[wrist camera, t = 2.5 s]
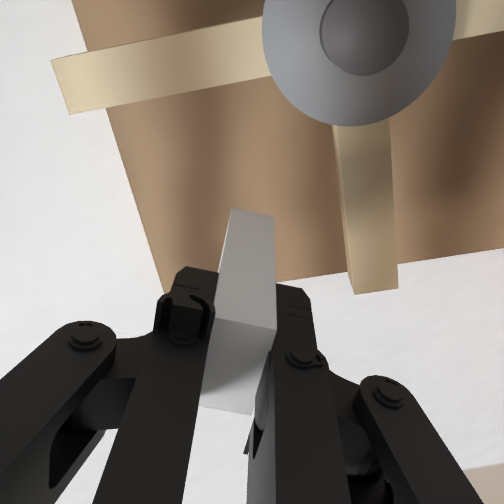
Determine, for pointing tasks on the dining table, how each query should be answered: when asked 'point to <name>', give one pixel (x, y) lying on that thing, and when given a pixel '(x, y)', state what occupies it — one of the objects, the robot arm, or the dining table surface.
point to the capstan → (307, 87)
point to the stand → (300, 153)
